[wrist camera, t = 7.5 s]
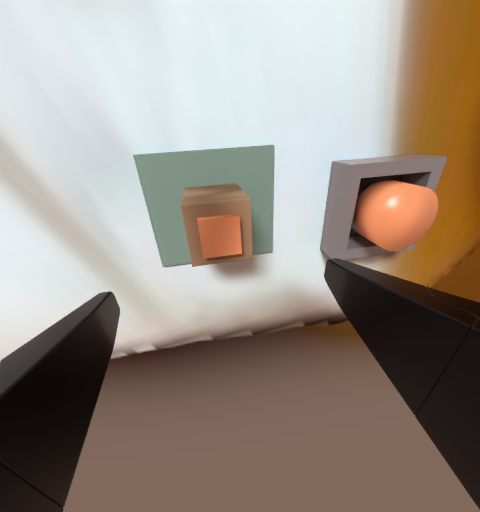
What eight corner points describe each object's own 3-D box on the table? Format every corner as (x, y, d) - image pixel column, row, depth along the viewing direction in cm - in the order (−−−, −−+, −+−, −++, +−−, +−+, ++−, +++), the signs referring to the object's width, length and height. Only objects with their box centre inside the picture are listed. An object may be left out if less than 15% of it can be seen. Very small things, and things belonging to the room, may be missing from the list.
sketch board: (273, 145, 16) (274, 145, 16) (271, 251, 21) (272, 251, 21) (133, 154, 15) (133, 154, 15) (163, 265, 20) (162, 266, 19)
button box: (418, 154, 19) (448, 156, 17) (392, 238, 23) (413, 249, 21) (332, 161, 18) (351, 164, 16) (320, 248, 22) (333, 261, 20)
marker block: (236, 183, 17) (253, 201, 12) (239, 230, 19) (254, 262, 14) (184, 188, 17) (180, 209, 12) (193, 236, 19) (192, 271, 14)
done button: (412, 176, 18) (449, 183, 16) (395, 232, 21) (424, 246, 18) (357, 182, 17) (385, 190, 15) (345, 239, 20) (368, 254, 17)
